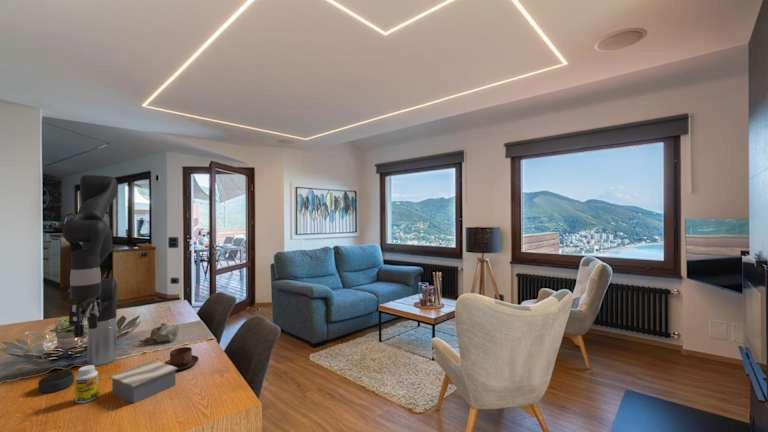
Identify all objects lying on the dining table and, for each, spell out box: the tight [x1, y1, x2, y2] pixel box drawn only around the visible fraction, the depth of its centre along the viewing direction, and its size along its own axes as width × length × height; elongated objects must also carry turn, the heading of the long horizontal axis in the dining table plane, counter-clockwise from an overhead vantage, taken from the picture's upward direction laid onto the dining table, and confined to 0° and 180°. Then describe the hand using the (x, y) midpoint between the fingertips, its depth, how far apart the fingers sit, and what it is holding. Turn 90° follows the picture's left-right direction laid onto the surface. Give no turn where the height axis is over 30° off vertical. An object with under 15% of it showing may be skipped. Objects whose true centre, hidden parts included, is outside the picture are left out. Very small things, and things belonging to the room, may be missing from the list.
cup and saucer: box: [164, 346, 199, 371], centre depth 135 cm, size 12×12×6 cm
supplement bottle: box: [74, 364, 99, 404], centre depth 111 cm, size 6×6×10 cm
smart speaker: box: [37, 370, 75, 394], centre depth 119 cm, size 9×9×4 cm
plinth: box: [109, 359, 178, 404], centre depth 117 cm, size 14×14×6 cm
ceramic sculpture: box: [138, 323, 180, 344], centre depth 162 cm, size 11×9×15 cm
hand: (86, 332), depth 111 cm, fingers open, 8 cm apart
